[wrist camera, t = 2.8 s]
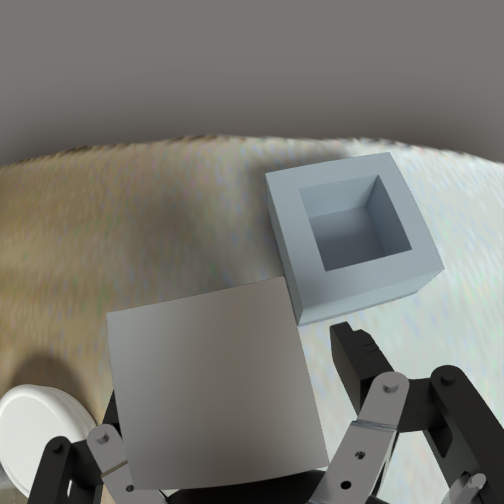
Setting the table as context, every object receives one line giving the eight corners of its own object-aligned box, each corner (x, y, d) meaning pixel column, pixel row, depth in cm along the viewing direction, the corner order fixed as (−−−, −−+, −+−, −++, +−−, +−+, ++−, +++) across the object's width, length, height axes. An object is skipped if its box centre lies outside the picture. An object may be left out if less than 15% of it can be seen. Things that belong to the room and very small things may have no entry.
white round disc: (94, 382, 21) (68, 378, 18) (123, 504, 17) (101, 517, 13) (10, 389, 20) (-17, 385, 17) (32, 494, 16) (6, 500, 13)
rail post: (231, 425, 19) (134, 489, 5) (219, 365, 21) (106, 313, 7) (294, 412, 19) (329, 465, 5) (281, 352, 21) (284, 275, 7)
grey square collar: (298, 326, 21) (303, 308, 17) (268, 212, 25) (265, 173, 20) (415, 293, 21) (444, 268, 17) (374, 191, 25) (389, 151, 21)
